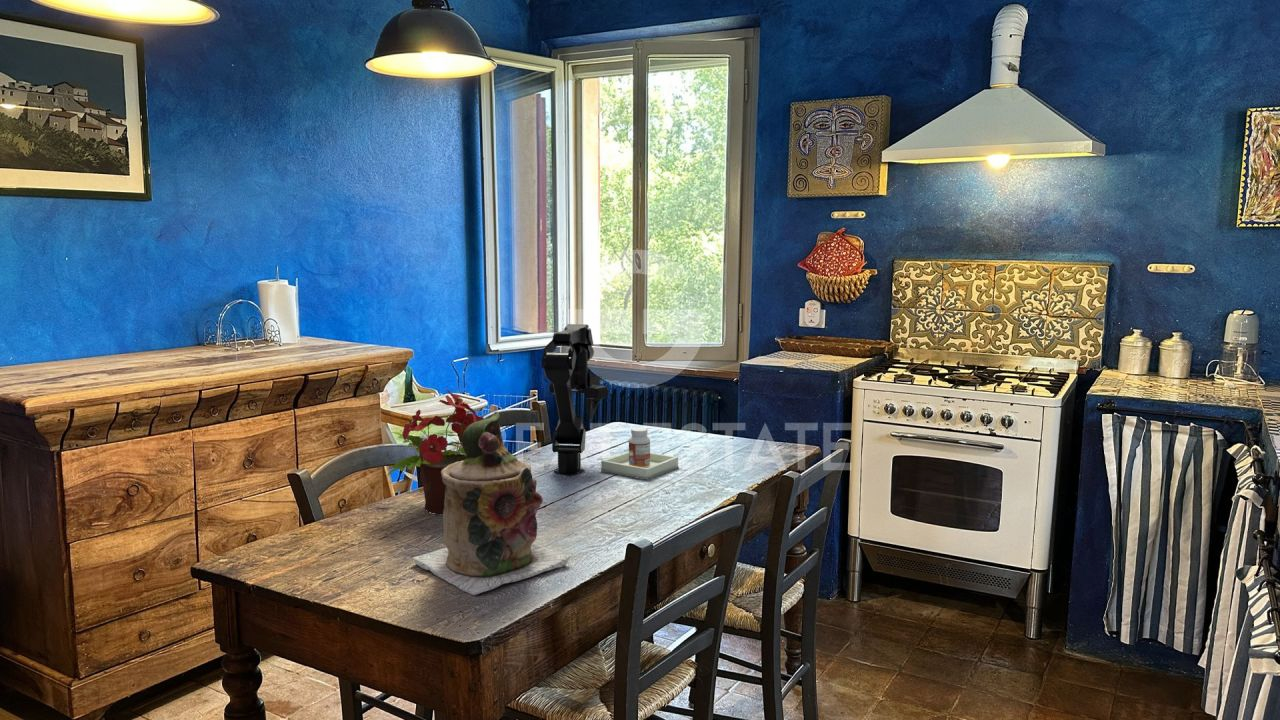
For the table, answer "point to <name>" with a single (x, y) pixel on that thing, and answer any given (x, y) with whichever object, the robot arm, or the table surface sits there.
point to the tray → (622, 467)
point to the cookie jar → (489, 517)
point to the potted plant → (436, 450)
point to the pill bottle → (639, 448)
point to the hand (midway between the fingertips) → (578, 417)
